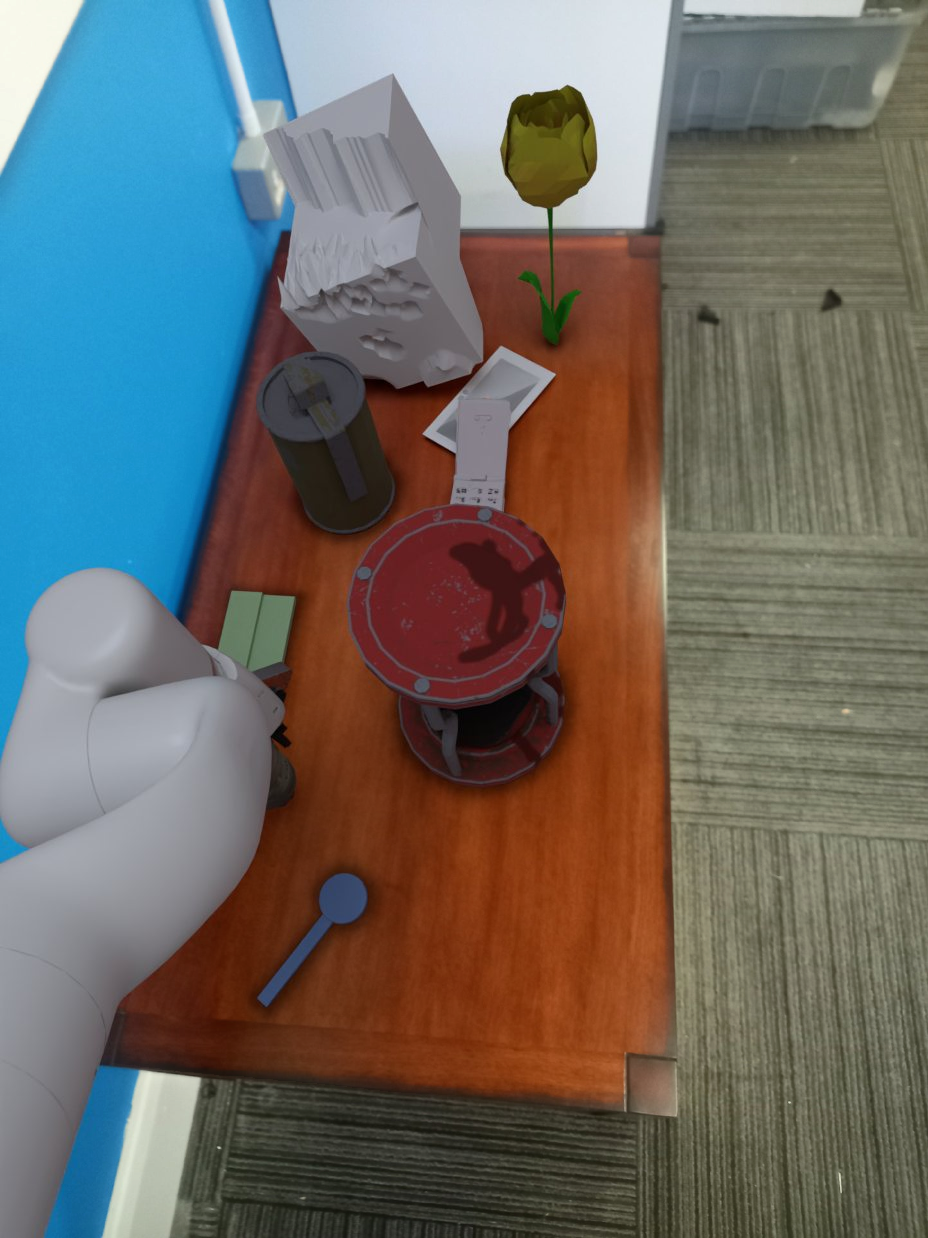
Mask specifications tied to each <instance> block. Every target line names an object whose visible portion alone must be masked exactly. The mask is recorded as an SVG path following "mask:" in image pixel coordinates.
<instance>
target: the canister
mask: <svg viewBox="0 0 928 1238" xmlns="http://www.w3.org/2000/svg"><path fill="white" fill-rule="evenodd" d="M255 408H256V412H257V417H258V419H259V420H260V422H261V424H262V425H263V426H264V428H265V429H266V430H267V431H268V433H269V435H270V438H271V440H272V442H273V444H274V445H275V448H276V450H277V452H278V454H279V456H280V458H281V460H282V462H283V464H284V466H285V468H286V470H287V472H288V474H289V476H290V479H291V480H292V483H293V485H294V487H295V489H296V491H297V493H298V494H299V497H300V499H301V502H302V505H303V509H304V511H305V513H306V516H307V517H308V518H309V520H310V521H311V522H312V523H313V524H314V525H315V526H317V527H318V528H320V529H322V530H324V531H326V532H330V533H333V534H338V535H339V534H340V535H348V534H349V535H350V534H356V533H359V532H362V531H363V532H364V531H365V530H367V529H369V528H371V527H373V526H374V525H376V524H378V522H380V521H381V520H382V519H383V518H384V517H385V515H387V513H388V512H389V510H390V508H391V507H392V506H393V504H394V503H393V502H394V500H395V495H396V485H395V480H394V479H395V478H394V475H393V474H392V471H391V470H390V469H389V467H388V463H387V460H386V457H385V454H384V450H383V447H382V444H381V440H380V438H379V434H378V430H377V427H376V423H375V422H374V421H375V420H374V418H373V415H372V412H371V408H370V405H369V402H368V399H367V395H366V384H365V379H363V377H362V375H361V373H360V371H359V370H358V368H357V367H356V366H355V365H354V364H353V363H352V362H350V361H349V360H348V359H346V358H344V357H342V356H340V355H338V354H334V353H330V352H321V351H317V350H315V351H307V352H302V353H299V354H295V355H293V356H291V357H288V358H286V359H284V360H282V361H280V362H279V363H278V364H276V365H275V366H274V367H272V369H271V370H270V371H269V372H268V373H267V374H266V375H265V377H264V378H263V379H262V381H261V383H260V385H259V387H258V389H257V392H256V396H255Z"/></svg>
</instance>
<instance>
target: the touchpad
mask: <svg viewBox="0 0 928 1238" xmlns="http://www.w3.org/2000/svg"><path fill="white" fill-rule="evenodd" d="M556 375H557V374H556V373H555V372H553V371H551V370H548V369H547V368H545V367H543V366H541V365H539V364H537V363H535V362H534V361H531V360H529V359H528V358H526V357H525V356H522V355H520V354H518V353H516V352H514V351H512V350H511V349H508V348H506V347H504V346H502V345H500V346H499V347H498V348H497V349H496V350H495V352H494V353H493V354H492V355H491V356H490V357H489V358H488V359H487V361H486V362H485V363H484V364H483V365H482V366H481V367H480V368H479V370H478V371H477V372H475V374H474V375H473V376H472V378H470V380H468V382H466V384H465V385H464V386H463V387H462V388H461V390H460V391H459V392H458V393H457V394H456V396H454V398H453V399H452V400H451V401H450V402H449V403H448V404H447V406H445V408H443V410H442V411H441V413H440V414H439V415H438V416H437V417H436V418H435V419H434V420H433V421H432V422H431V423H430V425H429V426H428V427H427V428H426V429H425V430H424V431H423V433H422V435H423V436H425V437H426V438H428V439H430V440H431V441H433V442H434V443H437V444H438V445H440V446H441V447H443V448H445V449H447V450H449V451H451V452H452V453H454V454H456V434H457V421H456V409H457V408H458V401H459V400H463V399H498V400H508V401H510V410H511V421H510V422H509V430H510V429H511V428H512V427H513V426H514V425H515V423H517V421H518V420H519V419H520V417H521V416H522V415H523V414H525V412H526V410H528V408H529V407H530V406H531V405H532V404H533V402H534V401H535V400H536V399H537V398H538V396H539V395H540V394H541V393H542V392H543V391H544V390H545V388H547V386H548V385H549V383H551V381H552V380H553V379H554V377H555V376H556ZM509 416H510V413H509Z"/></svg>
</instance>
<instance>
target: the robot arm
mask: <svg viewBox="0 0 928 1238" xmlns="http://www.w3.org/2000/svg"><path fill="white" fill-rule="evenodd" d="M24 643H25V644H24V646H25V649H26V653H27V658H28V665H27V668H26V673H25V676H24V680H23V685H22V689H21V692H20V696H19V699H18V702H17V704H16V705H17V706H16V708H15V711H14V715H13V718H12V721H11V724H10V727H9V731H8V734H7V736H6V739H5V743H4V748H3V751H2V755H1V758H0V820H1V823H2V825H3V828H4V829H5V831H6V833H7V834H8V835H9V837H10V838H11V839H12V840H13V841H14V842H16V843H17V844H18V845H20V846H22V847H24V848H27V850H25V851H22V852H20V853H18V854H17V855H14V856H12V857H10V858H8V859H6V860H4V861H2V862H1V863H0V1238H45V1236H46V1232H47V1229H48V1226H49V1223H50V1220H51V1217H52V1214H53V1211H54V1208H55V1205H56V1201H57V1198H58V1196H59V1192H60V1190H61V1187H62V1184H63V1183H62V1182H63V1180H64V1177H65V1174H66V1171H67V1168H68V1164H69V1161H70V1158H71V1156H72V1152H73V1148H74V1145H75V1142H76V1139H77V1136H78V1133H79V1130H80V1126H81V1124H82V1120H83V1118H84V1114H85V1112H86V1108H87V1105H88V1102H89V1099H90V1096H91V1092H92V1089H93V1085H94V1083H95V1080H96V1077H97V1074H98V1071H99V1067H100V1065H101V1061H102V1058H103V1055H104V1053H105V1049H106V1046H107V1043H108V1039H109V1036H110V1033H111V1029H112V1025H113V1022H114V1019H115V1016H116V1013H117V1010H118V1007H119V1005H120V1003H121V1002H122V1001H123V999H124V998H125V997H127V995H129V994H130V993H131V992H132V991H134V990H135V989H136V988H137V987H138V986H139V985H140V984H142V983H143V982H145V981H146V980H147V979H148V978H149V977H151V975H153V974H154V973H155V972H156V971H157V970H159V968H161V967H162V966H163V965H164V964H166V962H167V961H168V960H169V959H170V958H171V957H173V955H175V954H176V953H177V952H178V951H179V949H180V948H182V947H183V946H184V945H185V944H186V943H187V941H188V940H189V939H190V938H192V936H193V935H195V934H196V932H198V930H199V929H200V928H201V927H202V926H203V925H204V924H205V923H206V921H208V919H209V918H210V917H211V916H212V915H214V913H215V912H216V911H217V910H218V909H219V907H221V905H223V903H224V902H225V901H226V900H227V898H229V896H230V895H231V894H232V893H233V892H234V890H236V888H237V887H238V885H239V883H240V882H241V881H242V879H243V877H244V876H245V875H246V873H247V871H248V869H249V868H250V866H251V864H252V862H253V860H254V858H255V856H256V853H257V851H258V847H259V844H260V840H261V836H262V832H263V827H264V823H265V822H264V821H265V817H266V811H267V810H266V805H267V799H268V793H269V787H270V779H271V760H272V748H271V738H272V739H273V741H274V742H276V743H277V744H279V745H280V746H281V747H282V748H284V749H287V748H289V747H290V746H291V745H293V744H292V741H290V739H289V738H288V737H287V736H286V735H285V732H286V731H287V730H288V727H287V726H286V724H285V723H284V721H285V715H286V705H285V704H284V703H285V701H286V697H287V692H286V691H285V689H287V688H288V687H289V683H290V680H291V678H292V675H293V672H294V670H293V669H292V668H291V667H289V666H288V665H286V664H285V662H284V663H282V662H278V663H275V664H272V665H269V666H266V667H263V668H261V669H258V670H255V671H252V672H251V671H250V670H249V669H247V668H246V667H245V666H244V665H242V664H241V663H239V662H238V661H236V660H234V659H233V658H231V657H230V656H228V655H226V654H225V653H223V652H221V651H219V650H218V648H214V647H212V646H210V645H206V644H202V643H200V641H199V640H197V638H196V637H195V636H194V635H193V634H192V633H191V632H190V631H189V630H188V628H186V626H184V625H183V623H181V621H180V620H179V619H178V618H177V617H176V616H175V615H174V614H173V613H172V612H171V610H170V609H169V608H168V607H167V606H166V605H165V604H164V603H163V602H162V601H161V600H160V599H159V598H158V596H156V595H155V594H154V593H153V591H152V590H151V589H149V587H147V585H145V583H143V582H142V581H141V580H139V579H138V578H137V577H135V576H133V575H131V574H129V573H127V572H125V571H123V570H119V569H115V568H112V567H111V568H110V567H88V568H85V569H81V570H76V571H74V572H71V573H70V574H67V575H64V576H63V577H61V578H60V579H58V580H56V581H55V582H54V583H52V584H51V585H50V586H49V587H47V588H46V589H45V591H44V592H43V593H42V594H41V595H40V596H39V597H38V599H37V600H36V602H34V604H33V606H32V608H31V611H30V612H29V615H28V617H27V621H26V625H25V631H24ZM270 737H271V738H270Z"/></svg>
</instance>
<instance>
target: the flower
mask: <svg viewBox="0 0 928 1238" xmlns="http://www.w3.org/2000/svg"><path fill="white" fill-rule="evenodd" d="M499 152H500V158H501V165H502V169H503V173H504V176H505V177H506V178H507V179H508V181H509V182H510V183H511V185H512V187H513V188H514V190H515V191H516V192H517V195H518V196H519V197H520V200H521V201H523V202H524V203H526V204H528V205H530V206H532V207H535V208H542V209H546V212H547V213H546V214H547V224H548V245H549V262H550V304H549V302H548V300H547V298H546V297H545V295H544V293H543V289H542V284H541V281H540V279H539V276H538V274H536V273H535V272H532V271H530V270H524V271H523V272H522V273H521V274H520V275H519V276H518V277H517V280H519V281H522V282H525V283H528V284H530V285H532V287H533V289H534V290H535V291H536V292H537V293H538V295H539V302H540V311H541V333H542V334H543V336H544V338H545V339H546V340H547V342H549V343H550V344H552V345H557V346H558V345H559V342H560V336H559V335H560V333H561V331H562V329H563V328H564V326H565V325H566V323H567V320H568V318H569V315H570V312H571V309H572V306H573V304H574V302H575V299H576V297H578V296H579V295H581V294H582V291H581V290H579V289H573V290H572V291H570V292H568V293H565V294H564V295H563V296H562V297H561V298H560V300H559V302H558V303H557V306H556V309H555V284H554V283H555V282H554V281H555V278H554V275H555V274H554V220H553V219H554V208H558V207H560V206H561V205H562V204H563V203H565V201H567V200H569V199H570V198H573V197H574V196H576V195H578V194H579V191H580V190H581V189H582V188H585V187H586V186H587V185H588V184H589V182H590V181H591V179H592V177H593V176H594V174H595V172H596V171H597V165H598V143H597V131H596V125H595V122H594V118H593V115H592V114H591V111H590V109H589V107H588V104H587V102H586V100H585V98H584V96H583V94H582V92H581V90H578V89H577V88H575V87H574V86H571V85H569V84H566V85H564V86H563V87H561V88H560V89H558V88H557V89H553V90H547V91H546V90H545V91H534V92H533V93H532V94H530V93H526V94H525V93H523V94H520V95H518V96H517V97H516V98H514V99H513V100H512V101H511V104H510V107H509V111H508V115H507V118H506V126H505V130H504V133H503V137H502V141H501V144H500V147H499Z"/></svg>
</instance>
